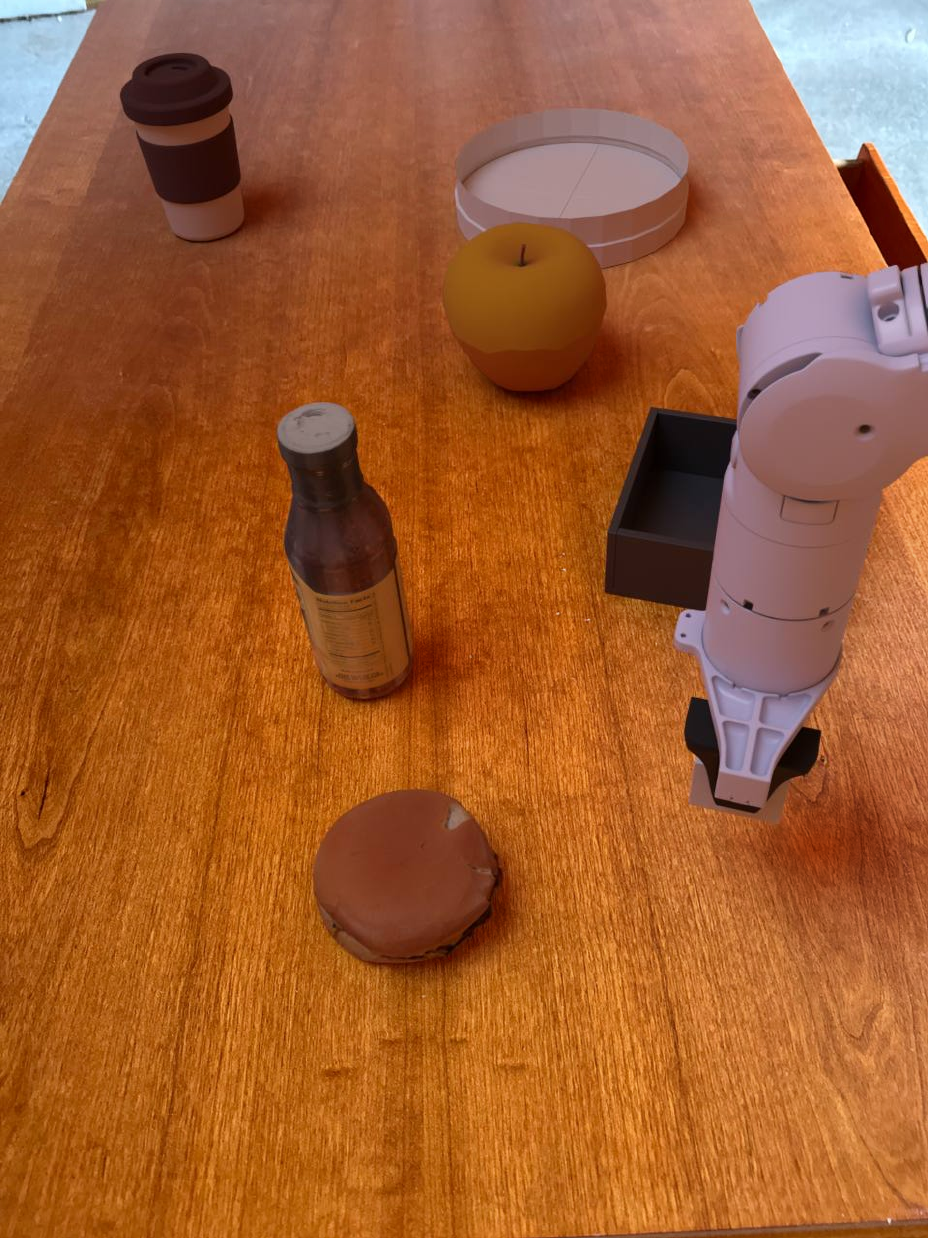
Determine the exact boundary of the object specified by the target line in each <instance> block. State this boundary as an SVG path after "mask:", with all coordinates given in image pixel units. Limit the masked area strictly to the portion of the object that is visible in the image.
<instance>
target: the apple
mask: <svg viewBox="0 0 928 1238" xmlns="http://www.w3.org/2000/svg"><path fill="white" fill-rule="evenodd" d="M440 291H441V301H442V307H443V310H444V313H445V316H446V319H447V322H448V325H449V328H450V330H451V332H452V334H453V336H454V338H455V340H456V342H457V343H458V345H459V347H460V348H461V349H462V351H463V353H464V354H465V355H466V357H468V359H469V360H470V362H472V363H473V364H474V365H475V367H476V368H477V369H478V371H480V373H481V374H482V375H484V376H485V377H486V378H488V379H489V380H490V381H491V382H493V383H494V384H496V385H497V386H498V387H502V388H503V389H505V390H508V391H511V392H542V391H549V390H550V391H551V390H556V389H557V388H559V387H560V386H562V385H564V384H565V383H567V382H568V381H570V380H572V378H573V377H574V376H575V375H576V373H577V372H579V370H580V369H581V367H582V366H583V365H584V364H585V362H586V361H587V360H588V359H589V357H590V356H591V353H592V351H593V349H594V347H595V345H596V342H597V340H598V337H599V335H600V331H601V328H602V324H603V320H604V317H605V314H606V311H607V308H608V301H607V284H606V280H605V277H604V273H603V271H602V269H601V267H600V264H599V262H598V261H597V259H596V257H595V256H594V254H593V252H592V251H591V249H590V248H589V247H588V246H587V245H586V244H585V243H584V242H582V241H581V240H580V239H579V238H577V237H576V236H574V235H573V234H571V233H570V232H569V231H566V230H563V229H559V228H556V227H553V226H547V225H538V224H530V223H522V222H516V223H510V224H504V225H498V226H494V227H492V228H490V229H488V230H486V231H484V232H482V233H480V234H478V235H477V236H475V237H474V238H473V239H471V240H470V241H467V242H465V243H463V245H462V246H461V247H460V248H459V249H458V250H457V252H455V254H454V255H453V256H452V258H451V259H450V260H449V262H448V264H447V267H446V270H445V274H444V278H443V283H442V286H441V290H440Z"/></svg>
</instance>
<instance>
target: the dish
mask: <svg viewBox="0 0 928 1238" xmlns="http://www.w3.org/2000/svg"><path fill="white" fill-rule="evenodd" d="M689 162H690V155H689V151H688V149H687V148H686V146H685V143H684V142H683V140H681V139H680V138H679V137H678V136H677V135H676V134H675V133H674V132H673V131H672V130H671V129H669V128H667V127H665V126H664V125H661V124H660V123H658V122H655V121H653V120H651V119H648V118H646V117H641V116H638V115H636V114H632V113H630V112H629V113H628V112H625V111H617V110H610V109H605V108H584V107H583V108H582V107H567V108H556V109H543V110H539V111H534V112H530V113H525V114H519V115H516V116H513V117H510V118H507V119H504V120H502V121H499V122H496V123H493V124H491V125H490V126H487V127H486V128H484V129H483V130H481V131H479V132H477V133H475V134H473V136H472V137H471V138H469V140H467V142H466V143H464V144H463V145H462V146H461V147H460V149H459V152H458V153H457V156H456V159H455V161H454V167H455V178H456V180H455V181H456V186H455V188H454V199H455V210H456V219H457V220H456V221H457V227H458V229H459V230H460V232H461V233H462V235H463V237H464V238H465V240H466V241H467V242H468V241H470V240H471V239H473V238H474V237H475V236H477V235H478V234H480V233H482V232H484V231H486V230H488V229H490V228H492V227H494V226H498V225H504V224H510V223H516V222H522V223H530V224H538V225H547V226H553V227H556V228H559V229H563V230H566V231H569V232H570V233H571V234H573V235H574V236H576V237H577V238H579V239H580V240H581V241H582V242H584V243H585V244H586V245H587V246H588V247H589V248H590V249H591V251H592V252H593V254H594V256H595V257H596V259H597V261H598V262H599V264H600V267H601V270H602V269H606V268H610V267H614V266H619V265H622V264H627V263H631V262H633V261H636V260H638V259H641V258H643V257H645V256H647V255H650V254H652V253H654V252H657V251H658V250H659V249H660V248H662V247H663V246H664V245H666V244H668V243H669V242H670V241H672V240H673V239H674V238H675V237H676V235H677V234H678V233H679V231H680V230H681V228H682V227H683V225H684V224H685V221H686V215H687V214H686V213H687V204H688V197H689V191H690V184H689V182H688V179H687V178H688V172H689V164H690V163H689Z"/></svg>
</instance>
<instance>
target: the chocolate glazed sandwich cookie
mask: <svg viewBox="0 0 928 1238" xmlns="http://www.w3.org/2000/svg"><path fill="white" fill-rule="evenodd" d="M503 882H504V871H503V868H502V867H501V866H500V860H499V856H498V854H497V852H495V850H494V848H493V847H492V846H491V845H490V843H489V840H488V838H487V835H486V833H485V831H484V830H483V829H482V827H481V826H480V824H479V823H478V821H477V820H476V818H475V817H474V815H473V814H472V813H471V812H470V811H469V810H468V809H466V807H464V805H463V804H462V802H460V800H459V799H457V798H455V797H453V796H450V795H449V794H445V793H443V792H441V791H437V790H430V789H423V788H414V789H411V788H410V789H399V790H392V791H388V792H384V793H380V794H377V795H376V796H373V797H371V798H369V799H366V800H364V801H361V802H360V803H358V804H356V805H354V806H353V807H352V808H350V809H349V810H348V811H346V812H345V813H343V814H342V815H340V816H339V817H338V819H337V820H335V821H334V823H332V825H331V826H330V828H329V829H328V830H327V831H326V832H325V834H324V836H323V839H322V841H321V844H320V845H319V847H318V849H317V852H316V856H315V860H314V864H313V871H312V884H313V885H312V886H313V894H314V896H315V902H316V906H317V909H318V913H319V917H320V919H321V920H322V922H323V925H324V926H325V929H326V930H327V932H328V933H329V934H330V935H331V937H332V938H333V939H334V941H335V942H337V943H338V944H339V945H340V946H341V947H343V948H344V949H345V950H346V951H347V952H349V953H350V954H351V955H352V956H353V957H355V958H357V959H358V960H360V961H364V962H369V963H378V964H379V963H381V964H401V963H404V964H405V963H416V962H423V961H427V960H431V959H435V958H442V957H446V956H449V955H450V954H451V953H452V952H453V951H454V950H455V949H456V948H458V947H459V946H460V945H461V944H462V943H463V942H464V941H465V940H466V939H467V938H469V937H472V935H473V934H474V931H475V930H477V928H479V927H480V926H482V925H484V924H486V922H487V921H488V920H489V919H490V918H491V917H492V916H493V914H494V910H493V906H492V899H493V894H494V891H495V889H496V890H497V891H499V890H500V889H501V888H502V886H503Z"/></svg>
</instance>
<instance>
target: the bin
mask: <svg viewBox="0 0 928 1238" xmlns="http://www.w3.org/2000/svg"><path fill="white" fill-rule="evenodd" d="M736 430H737V418H732V417H724V416H718V415H710V414H704V413H697V412H691V411H684V410H676V409H670V408H664V407H657V406H656V407H655V406H651V407H649V411H648V414H647V417H646V420H645V423H644V425H643V428H642V430H641V434H640V436H639V440H638V443H637V445H636V448H635V451H634V454H633V457H632V460H631V462H630V466H629V469H628V471H627V474H626V477H625V480H624V483H623V486H622V488H621V492H620V493H619V497H618V500H617V503H616V505H615V508H614V512H613V515H612V518H611V520H610V523H609V525H608V529H607V532H606V549H605V550H606V551H605V572H604V573H605V574H604V593H606V594H613V595H617V596H622V597H629V598H633V599H638V600H642V601H643V600H644V601H648V602H654V603H659V604H665V605H669V606H675V607H679V608H685V609H689V610H698V611H705V610H706V605H707V598H708V591H709V585H710V577H711V570H712V563H713V554H714V547H715V540H716V533H717V526H718V519H719V512H720V505H721V498H722V491H723V484H724V477H725V473H726V470H727V467H728V465H729V463H730V457H731V446H732V439H733V437H734V435H735V432H736Z"/></svg>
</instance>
